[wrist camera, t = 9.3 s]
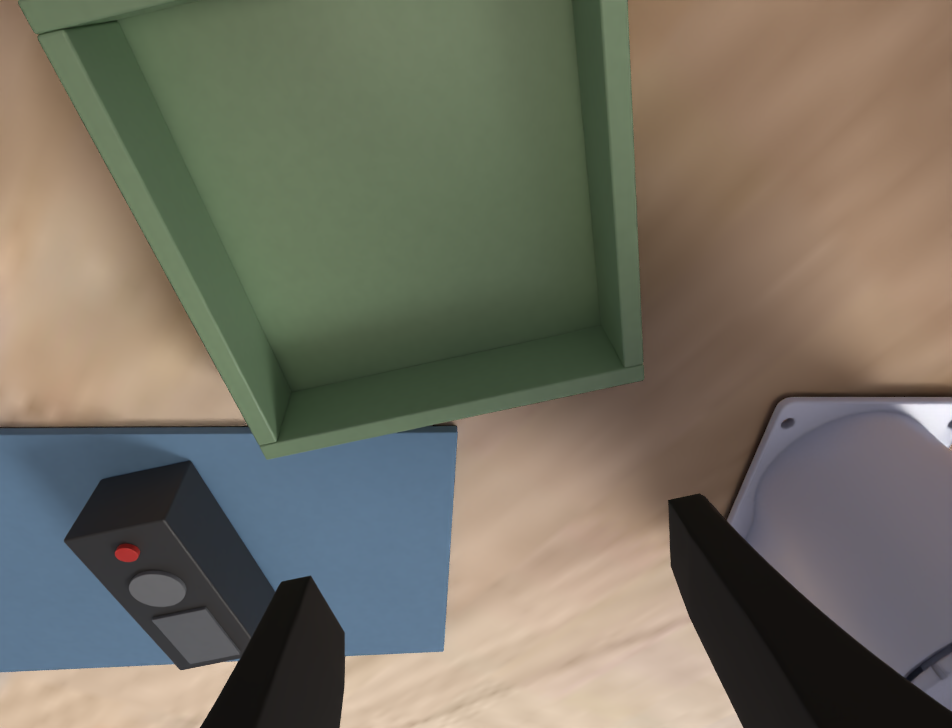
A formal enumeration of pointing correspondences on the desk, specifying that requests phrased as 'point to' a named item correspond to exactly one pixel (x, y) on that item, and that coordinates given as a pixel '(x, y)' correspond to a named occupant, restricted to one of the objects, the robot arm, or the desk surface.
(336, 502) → the mat
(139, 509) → the remote
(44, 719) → the desk surface
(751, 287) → the desk surface
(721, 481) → the desk surface
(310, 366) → the caddy
